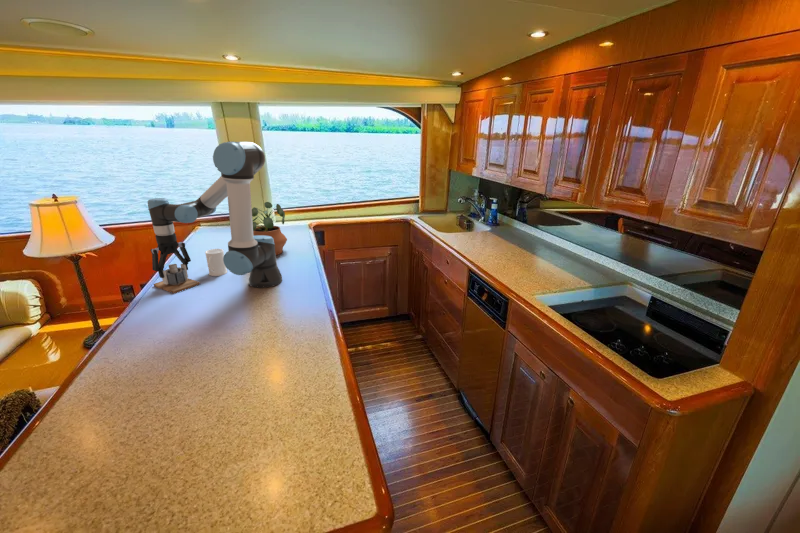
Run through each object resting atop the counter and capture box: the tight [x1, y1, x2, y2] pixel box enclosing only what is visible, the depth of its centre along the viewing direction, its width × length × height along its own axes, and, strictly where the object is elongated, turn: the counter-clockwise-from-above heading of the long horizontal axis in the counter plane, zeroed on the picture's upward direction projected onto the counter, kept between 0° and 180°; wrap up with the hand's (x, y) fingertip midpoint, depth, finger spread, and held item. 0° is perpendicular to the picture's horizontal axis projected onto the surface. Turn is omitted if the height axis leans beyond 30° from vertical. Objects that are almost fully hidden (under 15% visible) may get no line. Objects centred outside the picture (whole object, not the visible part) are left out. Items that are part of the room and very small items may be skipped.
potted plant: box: [252, 201, 288, 256], centre depth 198 cm, size 23×28×30 cm
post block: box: [153, 263, 201, 294], centre depth 156 cm, size 16×12×10 cm
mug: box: [204, 248, 229, 277], centre depth 169 cm, size 12×8×12 cm
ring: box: [163, 266, 187, 285], centre depth 156 cm, size 8×8×5 cm
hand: (176, 280), depth 157 cm, fingers closed on ring, 8 cm apart
